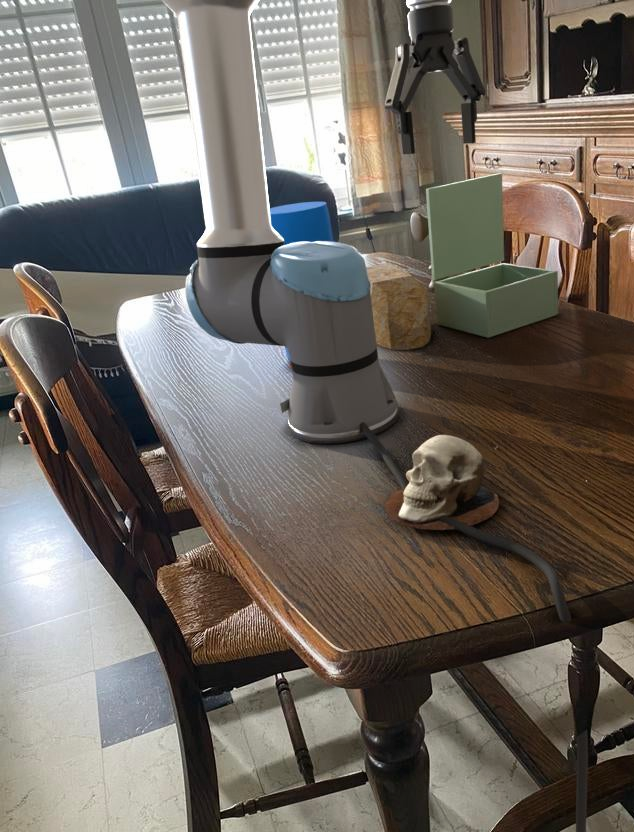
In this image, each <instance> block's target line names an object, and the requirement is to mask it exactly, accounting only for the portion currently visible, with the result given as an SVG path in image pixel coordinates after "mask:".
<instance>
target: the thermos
mask: <svg viewBox="0 0 634 832" xmlns="http://www.w3.org/2000/svg"><path fill="white" fill-rule="evenodd" d="M269 210H270V220H271V226H272V227H273V229H274V230H275V231H276V232H278V233H279V234H280V235H281V236H282V237H283V238H284V245H287V244H291V243H296V242H304V241H308V242H316V241H330V242H334V238H333V230H332V223H331V217H330V213H329V212H330V211H329V208H328V205H327V202H326V201H306V202H305V201H304V202H297V203H291V204H284V205H278V206H274V207H271V208H270V207H269ZM284 350H285V352H286V357H287V362H288V366H289V368H290V369H291V370H292V367H291V362H290V357H289V351H288V347H287V346H284Z"/></svg>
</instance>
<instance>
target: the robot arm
mask: <svg viewBox="0 0 634 832" xmlns="http://www.w3.org/2000/svg"><path fill="white" fill-rule="evenodd" d="M452 1H453V0H406V7H407V8H408V9H410V11H408V14H407V24H408V25H407V26H408V35H409V37H410V41H411V42H410V44H409V43H407V42H406V43H401V44H397V45H395V47H394V48H395V50H394V52H395V58H394V59H395V61H394V65H393V69H392V73H391V76H390V82H389V85H388V89H387V93H386V97H385V100H384V108H385V110H386V111H387V110H388V111H391V113H392V114H395V120H396V131H397V133H398V134H400V137H401V148H402V149H401V150H402V155H414V154H416V146H415V136H414V125H413V113H412V111H407V110H408V109H409V107H410V105H411V102H412V100H413V99H414V96H415V94H416V92H417V90H418V87H419V86H420V84H421V82H422V80H423V78H424V76H425V75H427V74H429V73H437V72H442V73H443V74H445V75H446V77H447V78H448V79H449V81H450V82H451V84H452V85H453V86H454V88H455V90H456V91H457V93H458V94H459V95H460V96H461V99H463V101H464V103H463V102H462V103H460V112H461V129H462V143H463V145H465V144H476V141H477V139H476V122H477V121H478V112H477V111H478V110H477V109H478V108H477V103H478V102H480V101H481V99H482V97H485V95H486V89H485V86H484V84H483V82H482V79H481V77H480V74H479V72H478V69H477V66H476V65H475V62H474V59H473V57H472V54H471V51H470V43H469V39H468V38H467V37H461V38H457V39H455V40H454V39H453V32H454V27H455V25H454V12H453V11H454V10H453V7H452V5H450V3H451V2H452ZM161 2H162V3H163V4H164V5H165V6H166V7H167V8H168V9H169V10H170V11H171V12H172V13H173V14H174V15H175V16H176V19H177V24H178V25H177V26H178V33H179V41H180V49H181V54H182V63H183V70H184V78H185V83H186V85H185V86H186V91H187V99H188V107H189V114H190V121H191V128H192V135H193V142H194V150H195V151H194V152H195V157H196V158H195V159H196V165H197V173H198V180H199V186H200V195H201V202H202V209H203V218H204V225H205V230H204V233H203V234H202V236H201V237H200V238H199V240H198V241H197V242H196V250H197V258H198V259H196V260H195V261H194V262H193V263H192V264H191V266H190V268H189V274H188V275H186V278H185V283H184V284H185V287H184V288H185V289H184V291H185V299H186V303H187V306H188V311H189V312H190V315H191V316H192V318H193V320H194V321H195V322H196V323H197V325H198V326H199V328H201V330H203V331H204V332H205V333H206V334H208V335H209V336H210V337H213V338H215V339H217V340H220V341H221V340H222V341H227V342H230V343H233V344H238V345H244V344H253V345H254V344H255V345H265V346H276V347H277V346H279V347H285V346H287V347H288V351H289V357H290V362H291V367H292V369H291V372H292V380H291V385H290V386H291V387H290V395H289V397H288V399H286V400H284V401H282V402H280V403H279V405H280V410H281V414H284V413H285V412H287V423H288V428H289V432H290V434H291V435H292V436H293V437H294V438H296V439H298V440H299V441H300V440H301V441H302V442H307V443H311V444H320V445H321V444H323V445H325V444H326V445H327V444H328V445H329V444H332V445H333V444H343V443H350V442H356V441H360V440H364V439H366V438H367V439H368V440H369V443H371V444H372V447H374V448H375V450H376V451H377V452H378V454H379V456H380V457H381V459H382V460H383V461H384V463H385V464H386V466H387V467H388V469H389V471H390V472H391V473H392V476H393V477H394V478H395V480H396V481H397V483H398V485H399V487H400V488H401V489H402V490H403V492H404V490H405V488H406V487H407V486H408V484H409V481H408V480H407V478H406V476H405V475H404V474H403V472H402V471H401V470H400V468H399V467H398V465H397V464H396V462H395V460H393V458H392V456H391V455H390V453H389V452H388V451H387V449H386V448H385V446H384V445H383V444H382V442H381V441H380V440H379V438H378V437H377V436H376V435H378V434H380V433H382V432H384V431H386V430H387V429H389V428H390V427H392V426H393V425H394V424H395V423H397V421H398V419H399V417H400V416H399V415H400V413H399V405H398V401H397V398H396V395H395V393H394V391H393V389H392V387H391V385H390V382H389V381H388V378H387V376H386V374H385V371H384V369H383V368H382V366H381V363H380V361H379V360H380V359H379V353H378V344H376V336H375V328H374V319H373V311H372V302H371V294H370V289H371V285H370V281H369V278H368V275H367V270H366V267H367V266H366V261H365V258H364V256H363V254H362V253H361V252H360V251H359V250H358V249H357V248H355V247H354V246H352V245H349V244H346V243H343V242H337V241H333V242H330V241H316V242H308V241H304V242H296V243H291V244H287V245H284V238H283V237H282V236H281V235H280V234H279V233H278V232H276V231H275V230H274V229H273V227H272V226H271V220H270V210H269V209H270V201H269V193H268V183H267V182H268V181H267V173H266V163H265V153H264V143H263V135H262V134H263V133H262V124H261V115H260V106H259V95H258V87H257V76H256V66H255V57H254V48H253V47H254V46H253V38H252V27H251V18H250V16H251V13H252V12H253V10H254V9H255V8H256V7H257V5H258V4H259V2H260V0H161ZM453 54H455V57H456V59H455V57H454V56H453ZM411 58H413V63H412V65H411V67H410V69H409V64H410V59H411ZM459 67H460V68H459ZM408 69H409V74H408V76H407V73H408ZM406 77H407V78H406ZM439 521H441V522H444V523H446V524H448V525H451V526H454V527H456V528H457V529H455V530H454V531H458V532H460V533H463V534H465V535H467V536H469V537H471V538H474V539H475V540H478V541H480V542H482V543H485V544H488V545H489V546H494V547H496V548H499V549H502V550H504V551H508V552H510V553H513V554H515V555H517V556H520V557H521V558H523V559H525V560H527V561H529V562H530V563H532V564H533V565H534V566H535V567H537V568H538V569H539V570H540V571H541V572H542V573H543V574H544V576H545V577H546V579H547V582H548V584H549V588H550V591H551V594H552V598H553V602H554V604H555V608H556V611H557V614H558V618H559V620H560V621H562V622H563V623H570V622H571V621H572V616H571V612H570V609H569V607H568V604H567V600H566V597H565V594H564V590H563V586H562V583H561V579H560V576H559V574H558V572H557V571H556V570H555V568H554V567H553V566H552V565H551V564H550V563H548V561H546V560H545V559H544V558H543V557H541V556H540V555H539V554H537V553H536V552H535V551H533V550H531V549H529V548H527V547H525V546H523V545H522V544H519V543H516V542H513V541H511V540H508V539H505V538H502V537H500V536H497V535H494V534H490V533H488V532H486V531H483V530H480V529H478V528H476V527H474V526H469V525H467V524H465V523H462V522H460V521H457V520H455V519H452V518H450V517H448V516H445V515H443V516H441V517H440V518H439ZM588 744H589V743H588V729H586V730H584V731H582V732H581V733H580V734H578V736H576V791H575V792H576V793H575V796H576V799H575V832H587V805H588V803H587V802H588V773H589V772H588V764H589V761H588V760H589V758H588V757H589V750H588V749H589V748H588V747H589V746H588Z"/></svg>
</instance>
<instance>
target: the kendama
mask: <svg viewBox="0 0 634 832" xmlns="http://www.w3.org/2000/svg"><path fill="white" fill-rule="evenodd" d="M410 231H411V234H412V237H413V238H414V240H415V241H416V242H417V243H421V242H423V241H424V240H425V239H427V237H429V225H428V216H426V215H424V214H422V213H420V212H418V211H414V212H413V213H412V214H411V216H410ZM428 270H429V271H430V273H431V274H432V267H431V265H429V266H428ZM448 278H449V276H447V277H444V278H440V279H437V280H433V279H432V278H431V280H430V283H429V285H428V288H429V290H431V291H435V289H434V282H437V281H441V280H444V279H448Z"/></svg>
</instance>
